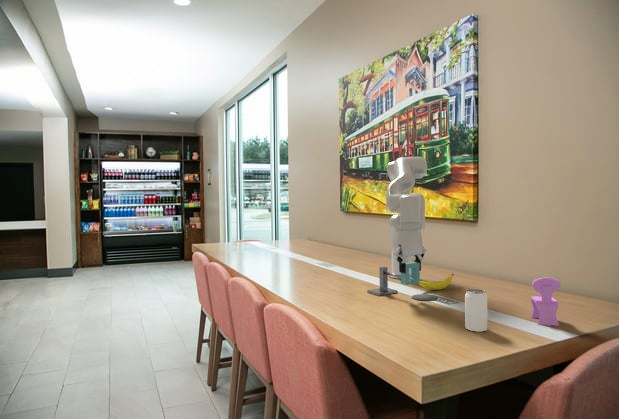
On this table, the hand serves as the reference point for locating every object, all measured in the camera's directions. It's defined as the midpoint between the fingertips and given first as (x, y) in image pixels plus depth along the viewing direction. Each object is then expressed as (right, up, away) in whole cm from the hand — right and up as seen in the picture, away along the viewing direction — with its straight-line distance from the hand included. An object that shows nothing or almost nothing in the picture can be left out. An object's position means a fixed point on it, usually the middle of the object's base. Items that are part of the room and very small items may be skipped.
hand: (410, 271), depth 175 cm
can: (+12, -13, -37) cm, 41 cm away
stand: (-6, -12, +11) cm, 17 cm away
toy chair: (+37, -12, -30) cm, 49 cm away
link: (0, -5, 0) cm, 5 cm away
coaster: (+7, -11, +4) cm, 14 cm away
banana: (+15, -11, +18) cm, 26 cm away
